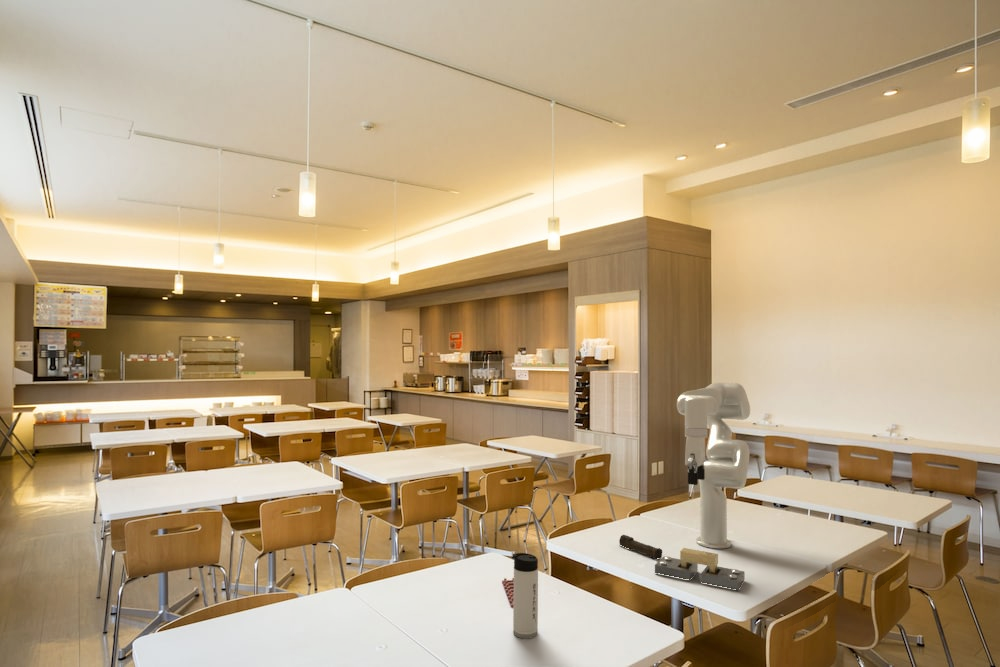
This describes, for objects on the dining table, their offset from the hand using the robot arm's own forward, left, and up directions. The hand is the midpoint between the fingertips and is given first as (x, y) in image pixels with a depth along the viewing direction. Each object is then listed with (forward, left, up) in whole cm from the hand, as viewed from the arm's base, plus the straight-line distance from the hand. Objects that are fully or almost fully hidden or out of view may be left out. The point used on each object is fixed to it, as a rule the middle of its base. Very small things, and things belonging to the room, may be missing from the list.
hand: (696, 481), depth 206 cm
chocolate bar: (+57, -38, -29) cm, 75 cm away
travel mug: (+78, -24, -28) cm, 86 cm away
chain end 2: (+13, +11, -28) cm, 33 cm away
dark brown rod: (0, -21, -29) cm, 36 cm away
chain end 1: (+13, -3, -28) cm, 31 cm away
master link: (+13, +4, -28) cm, 31 cm away
